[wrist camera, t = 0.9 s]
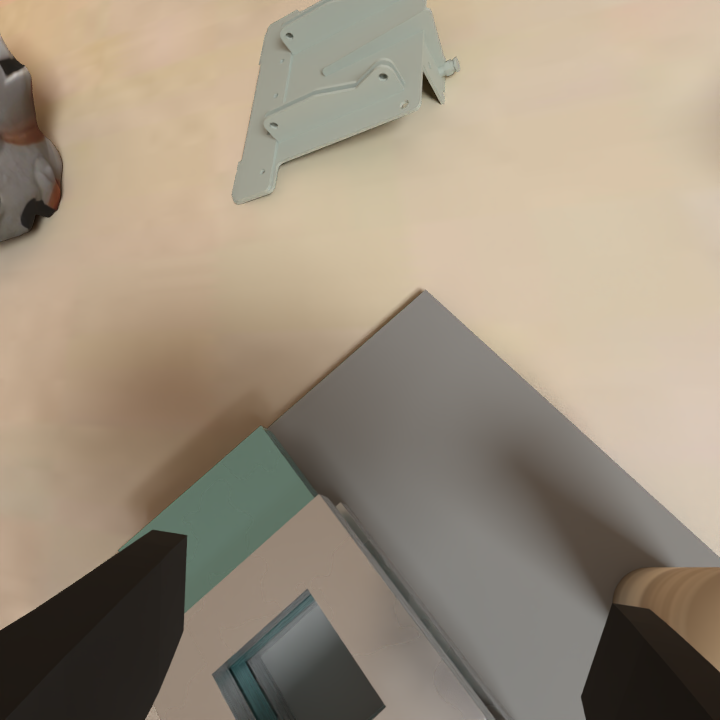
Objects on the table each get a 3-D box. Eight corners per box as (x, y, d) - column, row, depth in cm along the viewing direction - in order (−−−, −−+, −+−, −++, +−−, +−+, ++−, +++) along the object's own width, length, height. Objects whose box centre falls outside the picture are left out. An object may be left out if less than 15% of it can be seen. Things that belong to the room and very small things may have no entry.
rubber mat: (878, 708, 17) (890, 713, 17) (419, 1159, 16) (416, 1180, 16) (427, 295, 27) (425, 289, 26) (121, 563, 26) (113, 563, 25)
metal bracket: (428, -101, 29) (417, 104, 24) (465, -8, 34) (463, 181, 29) (238, 14, 37) (198, 191, 31) (290, 78, 41) (262, 242, 36)
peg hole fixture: (529, 742, 19) (535, 784, 15) (338, 923, 18) (296, 1011, 15) (291, 431, 25) (255, 409, 22) (146, 559, 25) (85, 557, 21)
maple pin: (725, 620, 18) (896, 661, 10) (663, 678, 18) (788, 767, 10) (652, 549, 20) (753, 537, 12) (594, 604, 20) (655, 630, 11)
